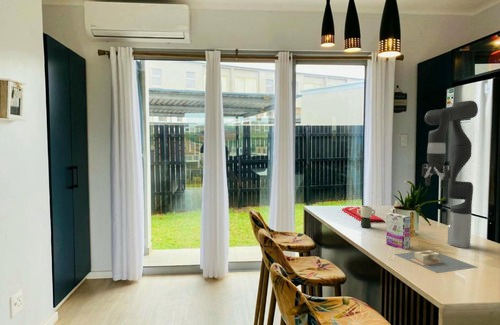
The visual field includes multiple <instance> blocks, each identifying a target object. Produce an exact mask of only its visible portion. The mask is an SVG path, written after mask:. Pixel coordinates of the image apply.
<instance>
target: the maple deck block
mask: <svg viewBox="0 0 500 325" xmlns="http://www.w3.org/2000/svg"><path fill="white" fill-rule="evenodd" d="M428 250H429V251H427V250H421V251H420V250H419V251H420V252H418V251H413V252H414V260H415V261H418V262H420V263H422V264H425V263H433V262H439V256H440V254H439V253H440V252H438V253H436V252H437V251H435V252H433V251H434V250H432V251H431V249H428Z"/></svg>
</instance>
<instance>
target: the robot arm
mask: <svg viewBox="0 0 500 325" xmlns="http://www.w3.org/2000/svg"><path fill="white" fill-rule="evenodd" d="M478 112H479V107H478V103H477V102H476V101H474V100H465V101H458V102H453V104H452V105H451V106H448V107H443V108H442V109H433V110H429V111H426V113H425V115H424V122H425V123H426V124H427V125H429V126H438V128H436V129H433V130H429V132H428V140H427V141H428V142H427V151H426V155H427V156H426V161H427V163H422V165H421V166H422V167H421V177H424V179H425V180H424V184H425V186H427V187H429V186H431V177H432V175H437V176H438V177H439V178H440V188H441V189H445V188H446V187H447V195H448V198H449V199H453V200H462V201H463V200H464V201H463V202H462V203H459V204H454V205H452V206H450V209H449V210H450V211H449V213H450V214H449V224H448V226H447V242H446V243H447V244H449V245H450V246H452V247H456V248H461V249H468V248H471V234H472V206H473V194H474V185H473V183H472V181H460V180H459V181H457V180H456V179H457V177H458V175H459V173H460V172H461V170H462V169H463V167H464V166H465V165H466V164H467V163H468V162H469V161H470V159H471V157H472V141H471V140H470V138H469V137H468V136H467V135H468V134H466V133H465V131H464V129H463V128H462V121H461V120H468V119H473V118H475V117H476V116H477V115H478ZM450 123H451V139H450V152H449V153H450V156H449V160H450V161H449V163H450V164H449V165H445V163H446V152H447V151H446V150H447V149H446V147H447V145H446V140H447V139H446V135H447V132H448V128H449V124H450ZM447 180H448V185H447Z"/></svg>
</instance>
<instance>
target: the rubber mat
mask: <svg viewBox="0 0 500 325" xmlns="http://www.w3.org/2000/svg"><path fill="white" fill-rule="evenodd" d="M429 250H431V249H428V250H426V251H429ZM431 251H433V252H436V253H439V254H440V256H439V262H433V263H425V264H422V263H420V262H418V261H415V260H414V252H415V251H413V252H412V251H410V252H404V253H402V252H400V253H394V256H396V257H399V258H401V259H404V260H405V261H407V262H410V263H413V264H416V265H417V266H420V267H422V268H425V269H426V270H430V271H431V272H433V273H435V274H441V273H448V272H455V271H462V270H469V269H478V266H475V265H473V264H470V263H468V262H465V261H462V260H460V259H456V258H454V257H451V256H448V255H446V254H442V253H440V252H438V251H434V250H433V249H432V250H431ZM417 252H420V250H419V251H417Z"/></svg>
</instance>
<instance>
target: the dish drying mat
mask: <svg viewBox="0 0 500 325" xmlns="http://www.w3.org/2000/svg"><path fill="white" fill-rule="evenodd" d="M360 207H361V206H346V207H343V208H341V212H343V211H344V212H343V213H345V214H346V213H347V214H346V215H348V214H349V215H348V216H350V217H351V216H352V218H353V217H354V218H353V219H355V218H356V219H355V220H357V221H358V220H359V221H358V222H360V221H361V220H362V217H361V216H360V214H357V209H360ZM359 213H360V211H359ZM370 221H371V222H384V223H385V222H386V221H385V220H384V219H383V218H382V217H379V216H377V215H376V214H375V215H372V217H370Z"/></svg>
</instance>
